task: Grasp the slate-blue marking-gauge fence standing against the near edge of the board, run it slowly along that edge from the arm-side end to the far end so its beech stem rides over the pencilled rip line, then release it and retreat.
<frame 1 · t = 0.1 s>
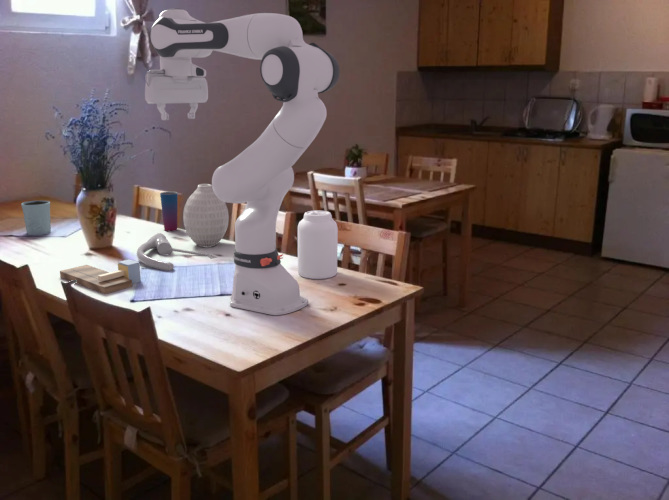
hand: (178, 119, 187), 48 cm above the table, fingers open, 8 cm apart
cup: (170, 230, 259), on the table
board: (95, 281, 193), on the table
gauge: (130, 281, 194), on the table
can: (317, 274, 204), on the table
pale blue tumbler: (39, 233, 251), on the table
vase: (207, 245, 237), on the table
faucet: (173, 260, 219), on the table
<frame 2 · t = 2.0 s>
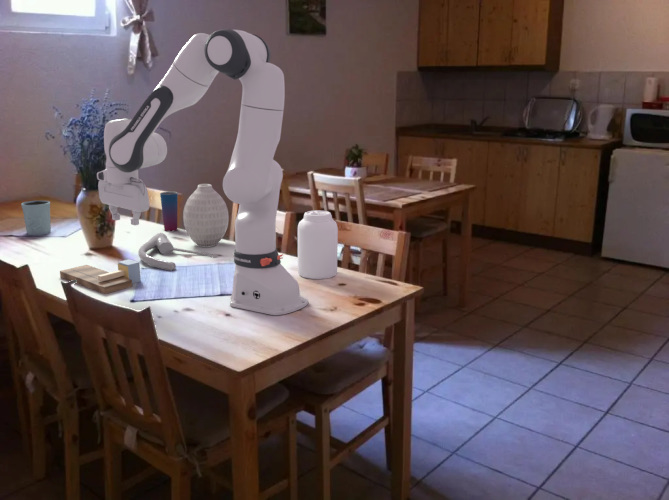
hand: (125, 222, 190), 18 cm above the table, fingers open, 8 cm apart
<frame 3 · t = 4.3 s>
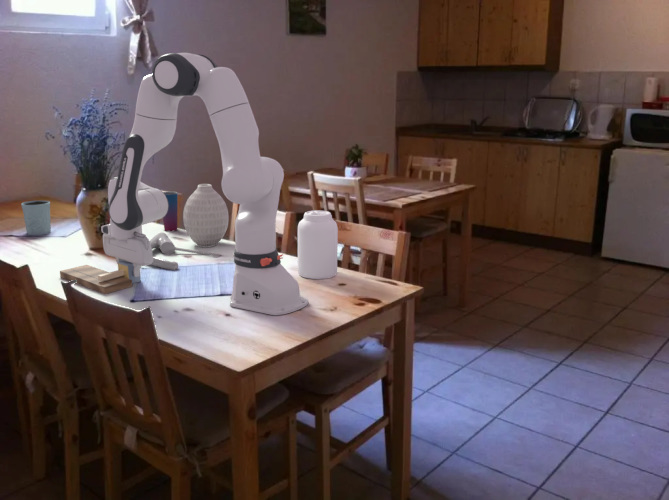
hand: (129, 274, 194), 2 cm above the table, fingers closed on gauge, 5 cm apart
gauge: (130, 280, 194), on the table, touching gripper
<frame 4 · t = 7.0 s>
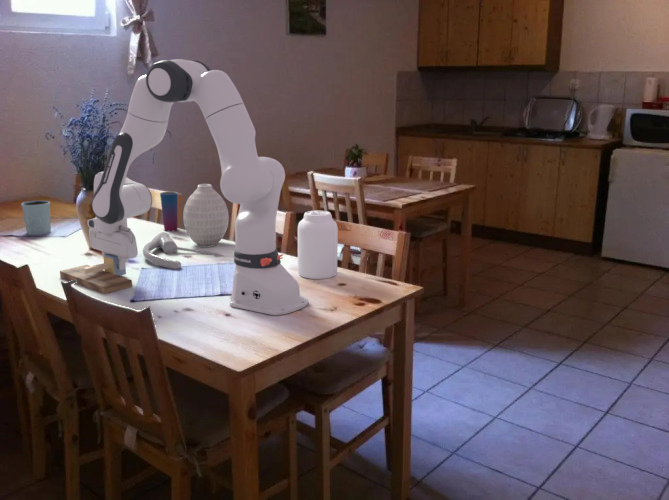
hand: (115, 267, 198), 3 cm above the table, fingers closed on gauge, 5 cm apart
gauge: (115, 273, 198), point 1 cm above the table, touching gripper
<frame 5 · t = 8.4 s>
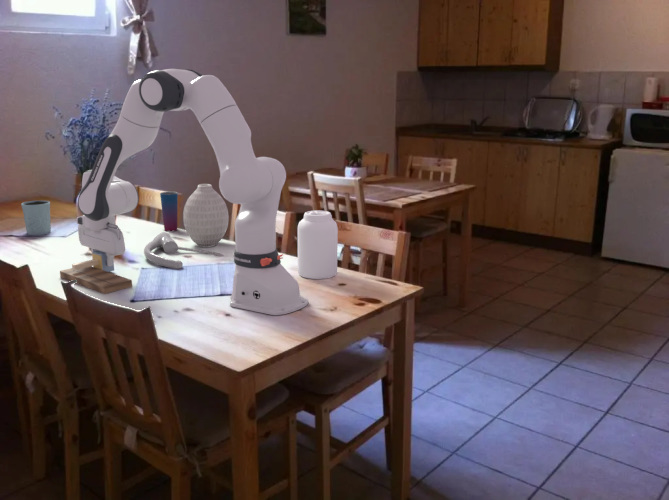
hand: (103, 263, 202), 3 cm above the table, fingers closed on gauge, 5 cm apart
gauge: (104, 270, 202), point 1 cm above the table, touching gripper
when the fingers open (3 cm above the table, at t = 9.7 s): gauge stays where it is, on the table.
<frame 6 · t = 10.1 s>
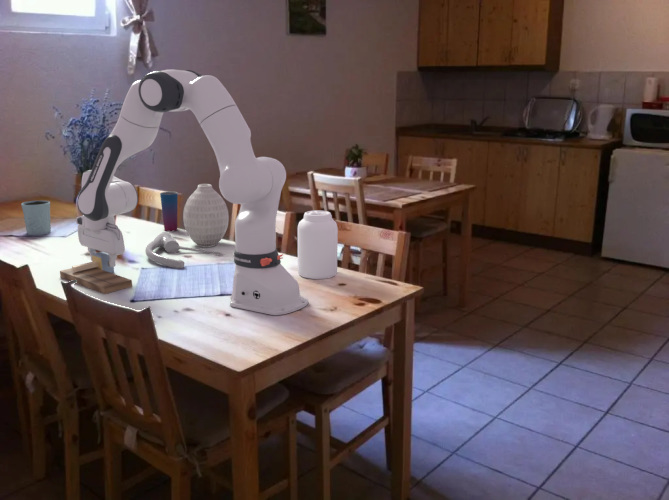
hand: (103, 263, 202), 3 cm above the table, fingers open, 8 cm apart
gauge: (104, 272, 203), on the table
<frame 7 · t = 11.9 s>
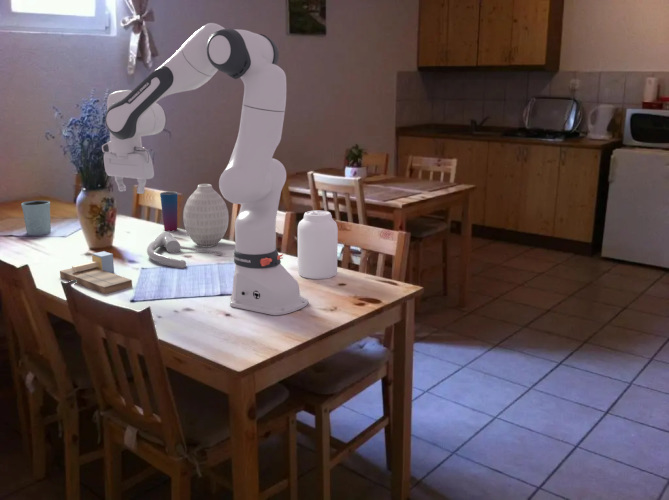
hand: (131, 192, 195), 26 cm above the table, fingers open, 8 cm apart
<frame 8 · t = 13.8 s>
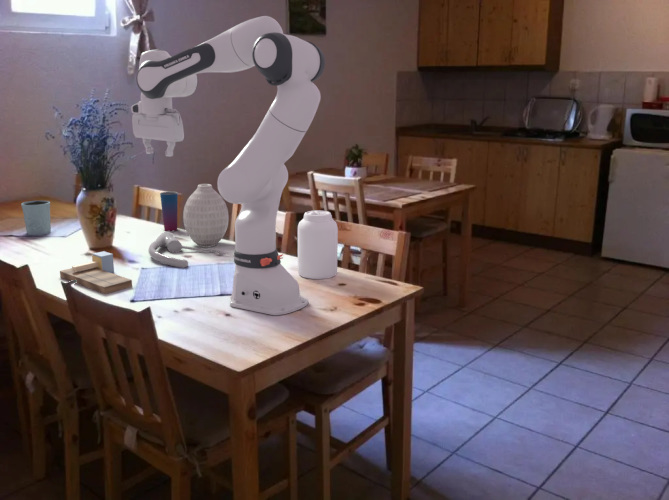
hand: (159, 155, 192), 37 cm above the table, fingers open, 8 cm apart
at the end: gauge 0.3 cm from the target spot, on the table; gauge tilted 0°; the gripper is holding nothing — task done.
